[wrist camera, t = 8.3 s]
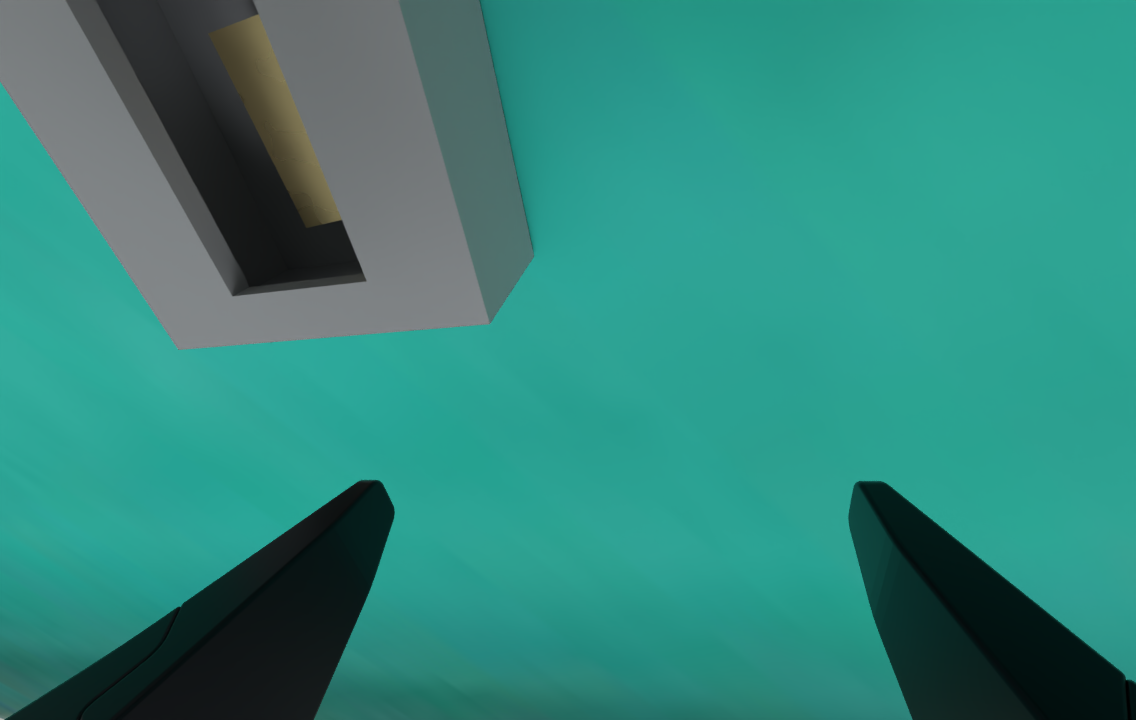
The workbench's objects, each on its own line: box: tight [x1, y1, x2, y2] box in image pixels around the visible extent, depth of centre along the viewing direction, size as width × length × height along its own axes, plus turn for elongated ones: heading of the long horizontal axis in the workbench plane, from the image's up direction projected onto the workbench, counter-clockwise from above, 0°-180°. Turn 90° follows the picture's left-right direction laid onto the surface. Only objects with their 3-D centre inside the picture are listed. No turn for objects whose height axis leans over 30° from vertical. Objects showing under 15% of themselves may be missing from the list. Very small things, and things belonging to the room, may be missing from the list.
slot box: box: [0, 0, 534, 350], centre depth 16 cm, size 12×12×6 cm
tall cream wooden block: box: [208, 14, 342, 228], centre depth 17 cm, size 3×6×2 cm, turn 14°
